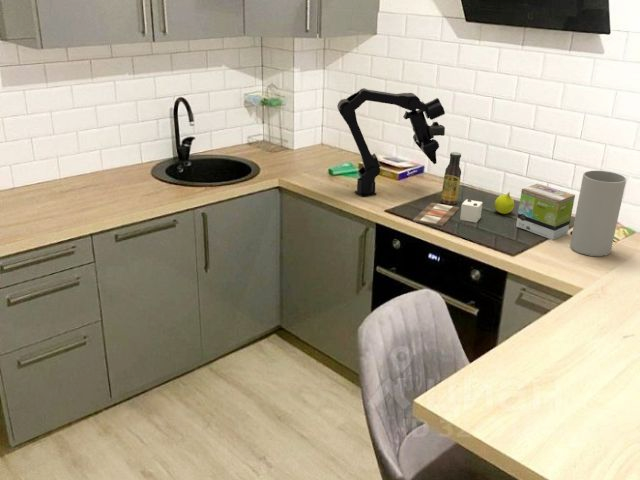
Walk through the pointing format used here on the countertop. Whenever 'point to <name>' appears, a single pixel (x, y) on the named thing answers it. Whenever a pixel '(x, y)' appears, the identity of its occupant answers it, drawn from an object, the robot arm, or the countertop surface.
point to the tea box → (545, 211)
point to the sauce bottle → (451, 180)
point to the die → (471, 210)
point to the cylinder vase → (597, 212)
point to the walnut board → (436, 214)
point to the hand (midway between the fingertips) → (432, 160)
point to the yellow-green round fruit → (504, 204)
